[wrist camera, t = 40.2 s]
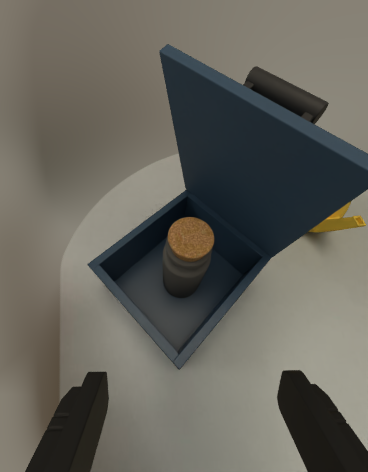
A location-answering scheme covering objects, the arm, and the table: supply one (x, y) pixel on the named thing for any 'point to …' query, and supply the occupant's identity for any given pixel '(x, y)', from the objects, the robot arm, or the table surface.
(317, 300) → the table surface
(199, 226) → the bottle
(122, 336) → the table surface
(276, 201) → the cool box lid
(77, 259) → the table surface
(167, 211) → the cool box
